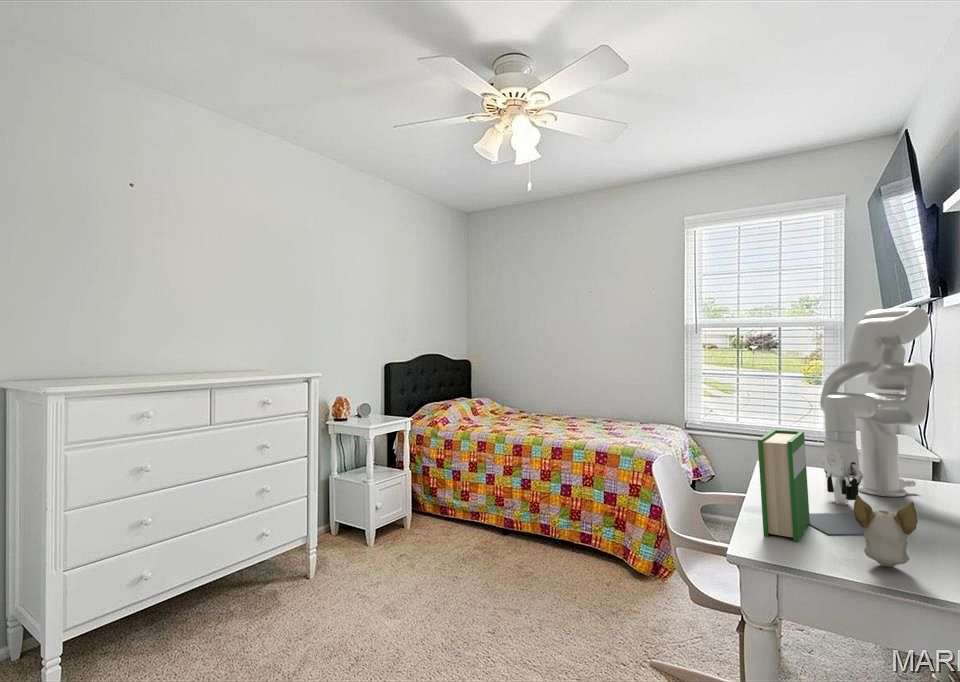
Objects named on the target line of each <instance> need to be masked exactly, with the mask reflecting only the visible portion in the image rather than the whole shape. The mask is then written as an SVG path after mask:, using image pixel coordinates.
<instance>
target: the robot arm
mask: <svg viewBox="0 0 960 682" xmlns="http://www.w3.org/2000/svg"><path fill="white" fill-rule="evenodd" d="M929 318H930V317H929V314H928V313H927V311H926V310H925V309H923V308H922V307H917V306H911V307H898V308H885V309H884V308H881V309H874V310H870V311H868V312H866V313H865V314H864V315H863V317H862V320H861V321H859V322H858V323H857V324H856V325H855V326H854V330H853V335H852V339H851V342H850V345H849V351H848V353H847V359H846V361H844V362H843V363H842V364H841V365H839V366H838V367H837V368H836V369H834V370H833V371H832V372H831V373H830V374H829V376H828V377H826V379H825V381H824V383H823V387H822V392H821V394H820V399H819V400H820V401H819V404H820V408H821V411H822V412H823V413H824V425H825V430H824V431H825V434H824V435H825V439H824V442H823V449H822V450H823V451H822V463H821V464H822V469H823V470H824V471H823V472H824V473H825V479H826V484H827V489H826V490H827V492H828V493H834V490H833V484H832V477H831V475H832V474H834V475H837V476H840V477H844V478H845V480H846V483H847V485H848V486H846V499H847V500H848V501H855V499H856V494H857V495H859V492H861V493H865V494H869V495H872V496H873V495H874V496H879V497H888V498H889V497H890V498H892V497H894V498H895V497H898V498H899V497H905V496H906V495H907V491H906V489H904V488H906V487H908V488H909V487H910V488H911V487H914V488H915V487H916V484H917V483H916V482H915V480H911V479H910V480H905V479H902V478H900V459H899V455H900V453H899V439H898V435H897V434H896V432H895V430H894V429H893V428H892V427H891V425H895V426H896V425H898V426H900V425H901V426H909V427H910V426H911V427H915V426H919V425H921V424H923V422H924V420H925V418H926V415H927V411H928V404H929V398H930V391H931V387H932V386H931V385H932V377H931V376H932V375H931V372H930V369H929V368H928V366H926V365H924V364H923V363H920V362H905V356H906V350H905V348H904V346H903V345H906V344H909V343H911V342H913V341H914V340H916V338H918V337H919V336H920V335H922V334H923V333H925V331H926V330H927V328H928V327H929V321H930V319H929ZM865 375H867V386H868V387H869V388H871V389H872V390H874V391H879V392H869V393H857V392H856V393H854V392H841V391H840V390H841V388H842V387H844V385H845V384H846V383H849V382H850V381H852V380H854V379H857V378H860V377H862V376H865ZM884 392H889V393H884ZM898 393H899V394H898ZM900 393H901V394H900ZM902 393H906V394H902ZM856 419H858V422H859V423H858V424H859V430H860V431H859V432H860V455H861V458H860V457H859V451H858V446H857V425H856V424H857V423H856ZM859 458H860V459H861V470H860V459H859ZM849 478H850V479H849Z"/></svg>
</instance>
